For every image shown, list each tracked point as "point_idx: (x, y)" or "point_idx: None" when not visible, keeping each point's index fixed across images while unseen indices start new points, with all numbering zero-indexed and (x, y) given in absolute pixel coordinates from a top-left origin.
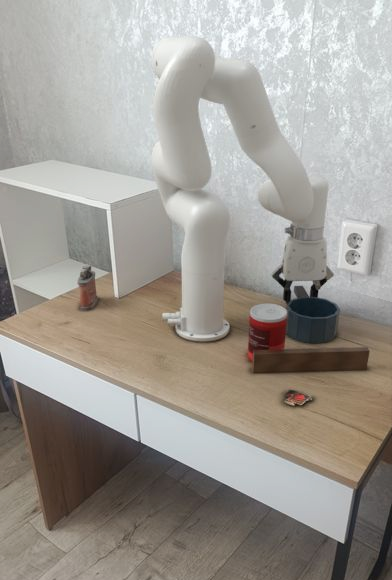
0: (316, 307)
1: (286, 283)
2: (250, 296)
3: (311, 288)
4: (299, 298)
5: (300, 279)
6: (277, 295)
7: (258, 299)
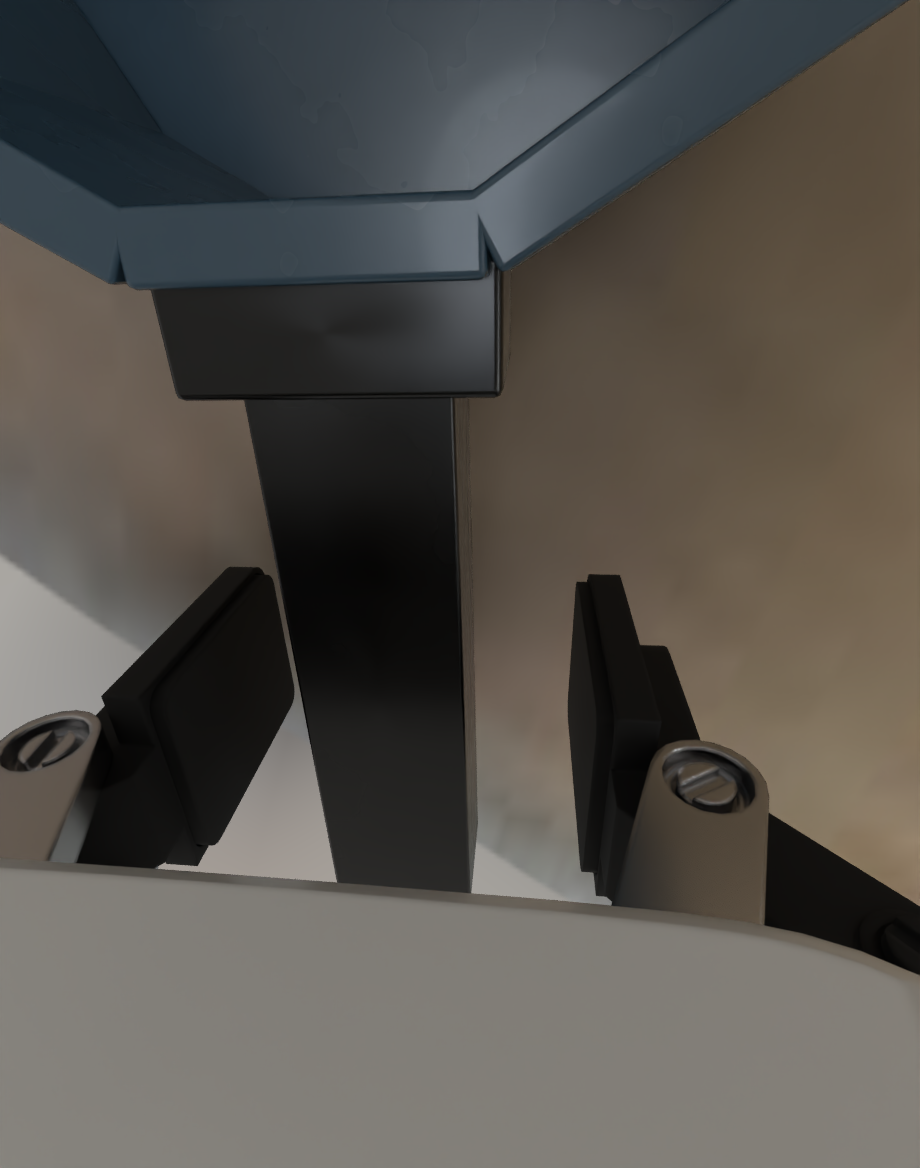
0: (159, 175)
1: (763, 890)
2: None
3: (209, 798)
4: (559, 154)
5: (398, 931)
6: (585, 875)
7: (807, 831)
